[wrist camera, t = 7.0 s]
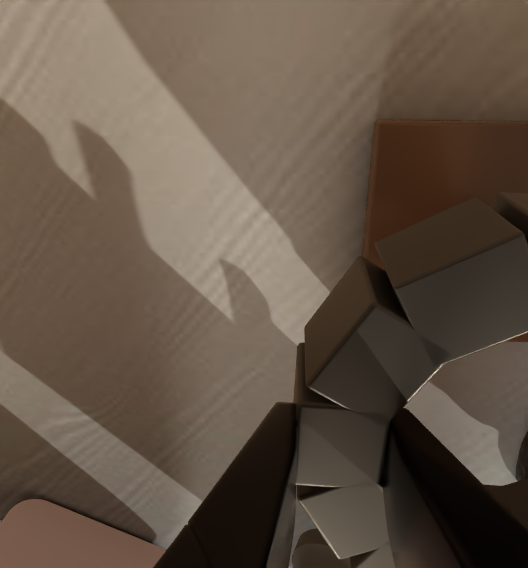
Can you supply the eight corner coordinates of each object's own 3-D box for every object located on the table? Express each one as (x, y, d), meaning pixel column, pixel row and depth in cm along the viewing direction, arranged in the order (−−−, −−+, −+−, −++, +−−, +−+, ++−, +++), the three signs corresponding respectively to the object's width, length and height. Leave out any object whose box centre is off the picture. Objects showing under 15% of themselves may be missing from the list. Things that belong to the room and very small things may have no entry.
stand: (355, 322, 21) (376, 415, 15) (374, 119, 18) (410, 142, 12) (555, 330, 21) (652, 427, 15) (614, 122, 17) (769, 146, 12)
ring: (285, 517, 12) (282, 598, 10) (308, 182, 8) (310, 215, 7) (632, 544, 12) (694, 633, 10) (806, 204, 8) (953, 245, 6)
